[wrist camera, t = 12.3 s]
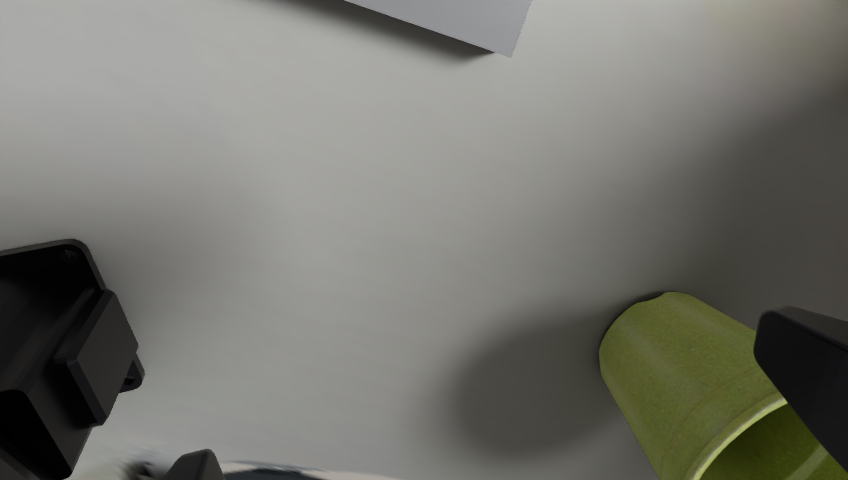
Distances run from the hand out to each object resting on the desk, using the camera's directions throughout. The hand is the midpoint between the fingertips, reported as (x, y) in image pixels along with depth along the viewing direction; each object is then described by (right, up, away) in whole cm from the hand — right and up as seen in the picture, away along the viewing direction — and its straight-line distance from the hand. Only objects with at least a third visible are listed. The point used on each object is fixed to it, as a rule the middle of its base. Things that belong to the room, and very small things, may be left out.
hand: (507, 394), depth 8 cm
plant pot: (+10, -3, +19) cm, 22 cm away
